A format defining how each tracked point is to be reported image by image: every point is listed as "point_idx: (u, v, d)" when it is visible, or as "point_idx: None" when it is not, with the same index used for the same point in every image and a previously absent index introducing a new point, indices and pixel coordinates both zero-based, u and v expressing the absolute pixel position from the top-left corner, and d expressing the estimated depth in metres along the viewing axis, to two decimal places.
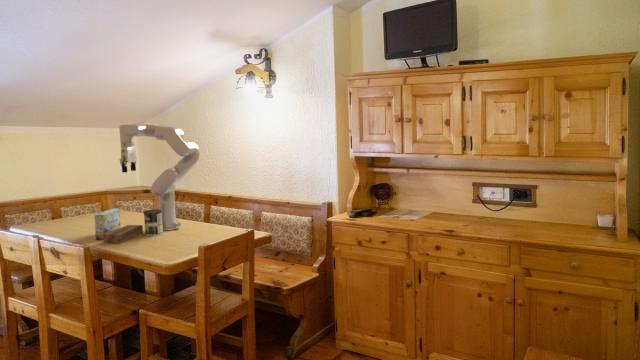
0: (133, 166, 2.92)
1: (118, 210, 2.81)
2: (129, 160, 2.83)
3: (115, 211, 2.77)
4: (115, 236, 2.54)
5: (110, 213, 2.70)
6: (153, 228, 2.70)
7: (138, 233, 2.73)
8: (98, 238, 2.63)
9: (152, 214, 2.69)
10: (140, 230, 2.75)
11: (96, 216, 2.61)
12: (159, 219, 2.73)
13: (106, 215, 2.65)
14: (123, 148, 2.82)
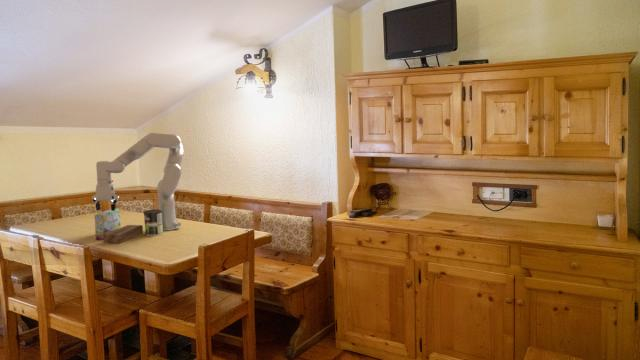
0: (99, 205, 2.72)
1: (118, 210, 2.81)
2: None
3: (115, 211, 2.77)
4: (115, 236, 2.54)
5: (110, 213, 2.70)
6: (153, 228, 2.70)
7: (138, 233, 2.73)
8: (98, 238, 2.63)
9: (152, 214, 2.69)
10: (140, 230, 2.75)
11: (96, 216, 2.61)
12: (159, 219, 2.73)
13: (106, 215, 2.65)
14: (111, 185, 2.69)
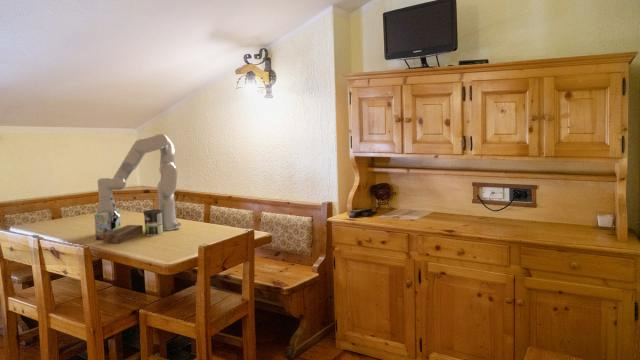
0: None
1: (118, 210, 2.81)
2: None
3: None
4: (115, 236, 2.54)
5: None
6: (153, 228, 2.70)
7: (138, 233, 2.73)
8: (98, 238, 2.63)
9: (152, 214, 2.69)
10: (140, 230, 2.75)
11: (96, 216, 2.61)
12: (159, 219, 2.73)
13: (106, 215, 2.65)
14: (113, 202, 2.71)
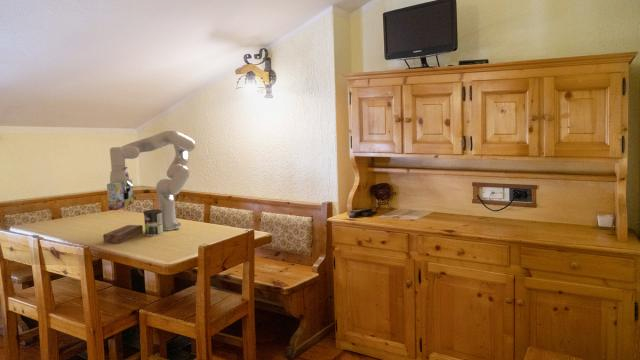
0: None
1: (131, 181, 2.71)
2: None
3: None
4: (115, 236, 2.54)
5: None
6: (153, 228, 2.70)
7: (138, 233, 2.73)
8: (111, 208, 2.54)
9: (152, 214, 2.69)
10: (140, 230, 2.75)
11: (108, 185, 2.52)
12: (159, 219, 2.73)
13: (119, 184, 2.56)
14: (126, 172, 2.61)
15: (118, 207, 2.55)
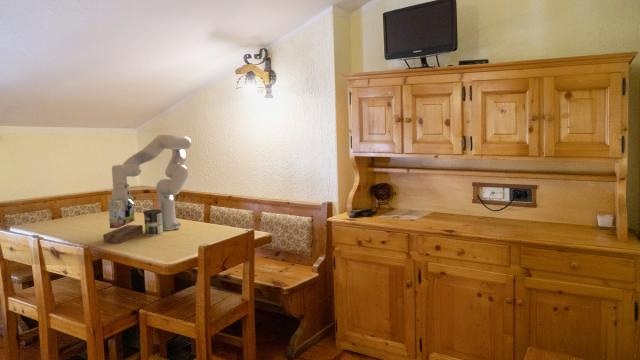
0: None
1: (132, 198, 2.73)
2: None
3: None
4: (115, 236, 2.54)
5: None
6: (153, 228, 2.70)
7: (138, 233, 2.73)
8: (112, 226, 2.55)
9: (152, 214, 2.69)
10: (140, 230, 2.75)
11: (110, 203, 2.53)
12: (159, 219, 2.73)
13: (120, 202, 2.57)
14: (127, 190, 2.63)
15: (119, 225, 2.57)
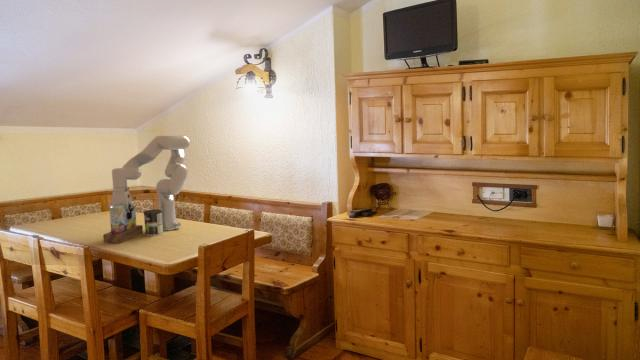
0: None
1: (134, 203, 2.73)
2: None
3: None
4: (115, 236, 2.54)
5: None
6: (153, 228, 2.70)
7: (138, 233, 2.73)
8: (113, 232, 2.56)
9: (152, 214, 2.69)
10: (140, 230, 2.75)
11: (111, 209, 2.54)
12: (159, 219, 2.73)
13: (121, 208, 2.58)
14: (128, 193, 2.63)
15: (120, 231, 2.57)
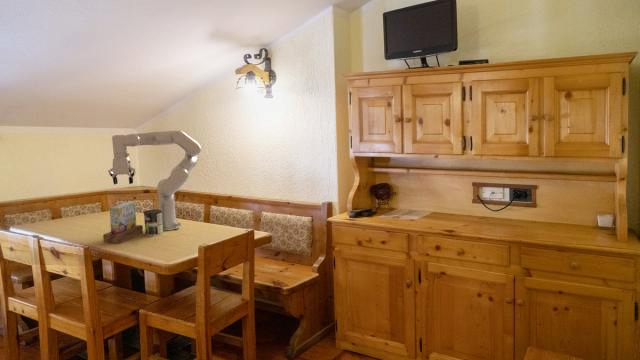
0: (116, 179, 2.75)
1: (133, 203, 2.73)
2: None
3: (130, 204, 2.69)
4: (115, 236, 2.54)
5: (125, 206, 2.63)
6: (153, 228, 2.70)
7: (138, 233, 2.73)
8: (113, 232, 2.56)
9: (152, 214, 2.69)
10: (140, 230, 2.75)
11: (111, 209, 2.54)
12: (159, 219, 2.73)
13: (121, 208, 2.58)
14: (128, 159, 2.72)
15: (120, 231, 2.57)
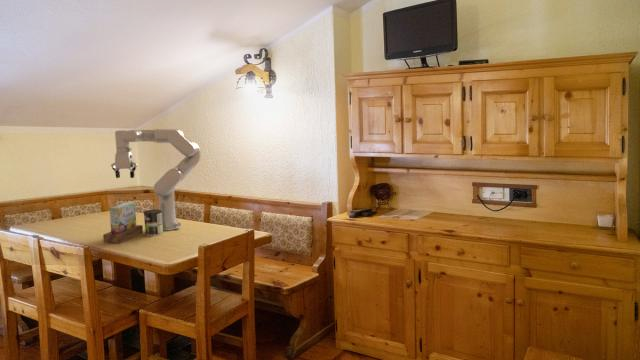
0: (118, 173, 2.84)
1: (133, 203, 2.73)
2: None
3: (130, 204, 2.69)
4: (115, 236, 2.54)
5: (125, 206, 2.63)
6: (153, 228, 2.70)
7: (138, 233, 2.73)
8: (113, 232, 2.56)
9: (152, 214, 2.69)
10: (140, 230, 2.75)
11: (111, 209, 2.54)
12: (159, 219, 2.73)
13: (121, 208, 2.58)
14: (130, 153, 2.81)
15: (120, 231, 2.57)
